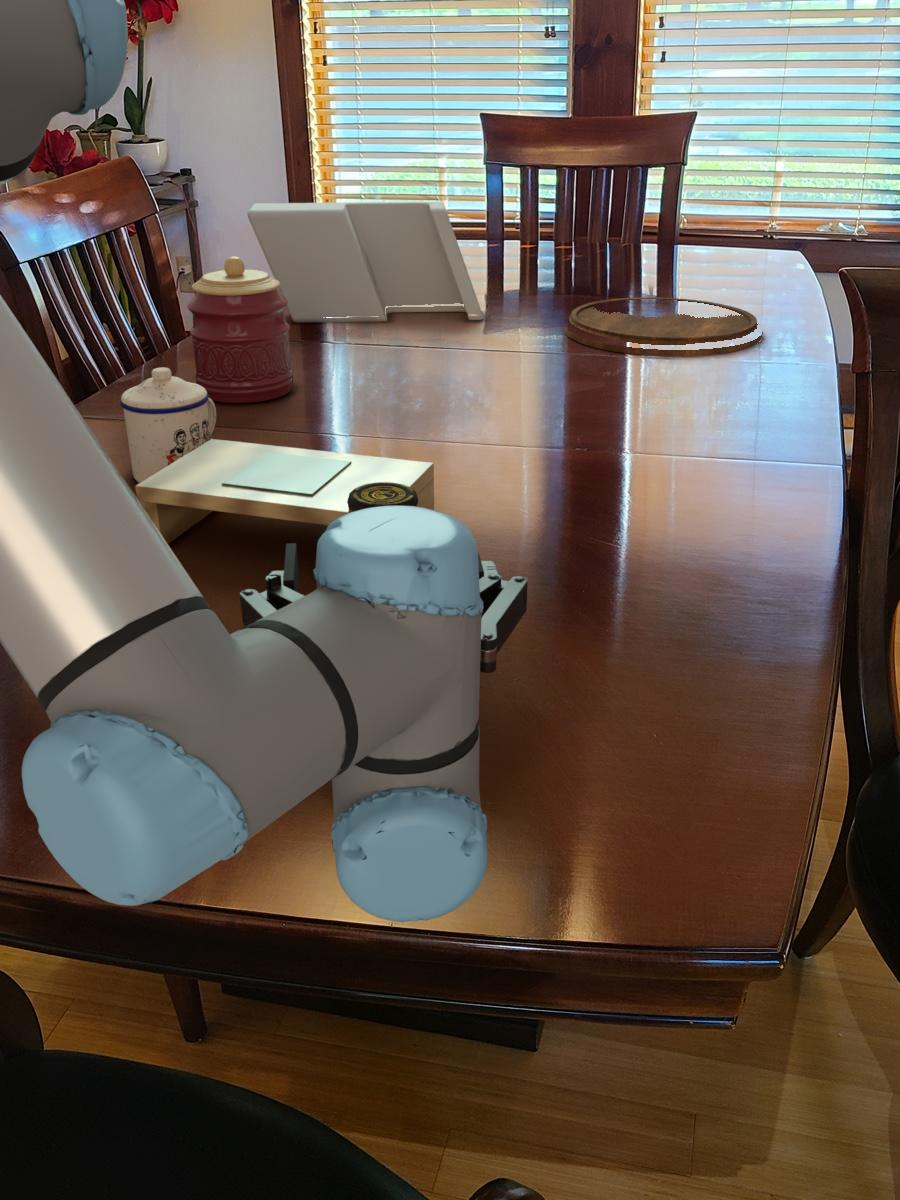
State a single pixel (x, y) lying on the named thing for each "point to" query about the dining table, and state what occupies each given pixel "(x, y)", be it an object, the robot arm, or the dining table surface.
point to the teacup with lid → (165, 421)
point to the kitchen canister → (240, 335)
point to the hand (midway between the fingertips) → (381, 555)
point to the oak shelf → (269, 484)
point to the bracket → (363, 259)
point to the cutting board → (662, 329)
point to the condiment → (381, 496)
